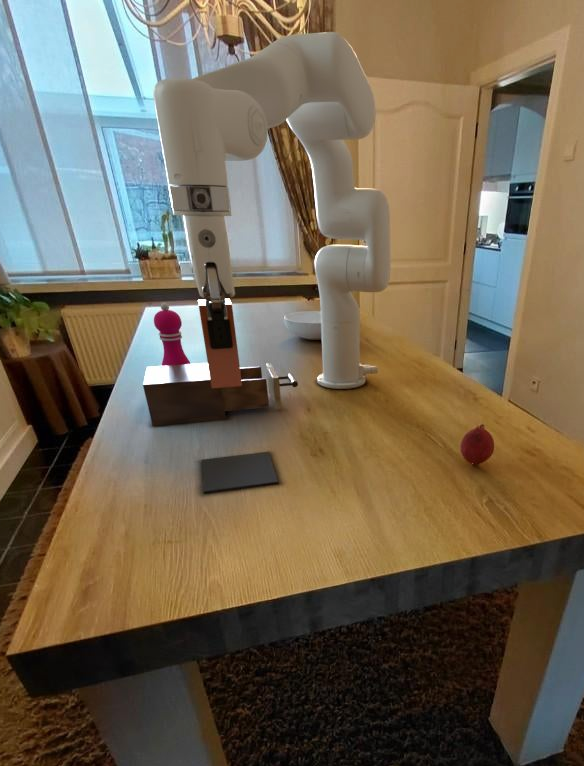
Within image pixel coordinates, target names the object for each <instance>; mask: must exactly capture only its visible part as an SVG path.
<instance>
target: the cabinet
mask: <svg viewBox="0 0 584 766" xmlns="http://www.w3.org/2000/svg"><path fill="white" fill-rule="evenodd" d="M142 388H143V393H144V395H145V400H146V403H147V409H148V413H149V417H150V421H151V425H152V427H157V426H170V425H178V424H179V425H181V424H189V423H200V422H211V421H219V420H226V411H224V404H223V397H222V391H221V388H212V387H211V380H210V374H209V368H208V362H200V363H191V364H183V365H169V366H162V365H157V366H155V365H154V366H146V370H145V374H144V378H143V382H142Z"/></svg>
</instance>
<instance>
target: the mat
mask: <svg viewBox="0 0 584 766" xmlns="http://www.w3.org/2000/svg"><path fill="white" fill-rule="evenodd" d="M201 469H202V470H201V471H202V472H201V473H202V487H203V494H210V493H218V492H225V491H233V490H241V489H248V488H255V487H263V486H270V485H277V484H278V485H279V480H278V476H277V474H276V470H275V467H274V464H273V462H272V458H271V454H270V452H269V451H264V452H255V453H254V452H253V453H247V454H245V453H244V454H238V455H230V456H229V455H228V456H219V457H211V458H203V459H201Z"/></svg>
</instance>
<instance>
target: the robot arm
mask: <svg viewBox="0 0 584 766" xmlns="http://www.w3.org/2000/svg"><path fill="white" fill-rule="evenodd" d="M153 101H154V109H155V114H156V119H157V126H158V131H159V138H160V143H161V150H162V156H163V161H164V162H163V163H164V168H165V173H166V178H167V185H168V191H169V197H170V202H171V208H172V215H173V216H176V217H177V216H179V217H183V218H182V219H183V223H184V230H185V236H186V242H187V247H188V253H189V258H190V264H191V268H192V272H193V276H194V280H195V284H196V288H197V290H198V294H199V296H200V297H201V298H203V299H204V300H205V302H206V308H207V315H208V320H207V327H208V333H209V340H210V346H211V348H212V349H226V348H232V347H233V342H232V335H231V327H230V319H228V315H227V308H226V301H225V299H226V296H225V293H226V294H227V295H229V296H230V298H233V297H235V295H236V289H235V284H234V276H233V269H232V262H231V252H230V246H229V245H230V244H229V237H228V231H227V228H226V222H225V217H231V216H232V208H231V198H230V191H229V184H228V183H229V182H228V174H227V173H228V172H227V165H226V162H244V161H250V160H253V159H255V158H257V157H258V156H260V155H261V153H262V152H263V151H264V150H265V147H266V145H267V142H268V132H269V131H268V130H269V129H272V128H276V127H278V126H280V125H282V124H283V123H284V122H287V124H288V126H289V128H290V130H291V131H292V132H293V134H294V135H295V137H296V138H297V139H298V140H299V142H300V143H301V145H302V146H303V148H304V150H305V152H306V154H307V156H308V159H309V162H310V165H311V173H312V181H313V191H314V202H315V203H314V204H315V213H316V214H315V215H316V220H317V227H318V229H319V232H320V233H321V234H322V236H323V237H325V238H328V239H334V240H350V241H351V240H353V241H358V240H359V241H364V242H365V244H366V245H355V244H329V245H326V246H323V247H321V248H320V249H319V250H318V251H317V253H316V255H315V258H314V272H315V277H316V282H317V287H318V288H317V289H318V292H319V293H318V294H319V304H320V305H319V306H320V311H321V333H322V340H321V357H322V373H320V374H319V375H318V376H317V378H316V380H317V381H316V382H317V384H318V385H320V386H321V387H324V388H328V389H334V390H348V389H349V390H350V389H354V388H359V387H362V386H363V385H365V383H366V381H367V379H366V378H367V377H366V376H367V375H369V374H370V375H375V374H378V372H379V369H378V365H373V366H372V365H370V364H364V365H363V364H362V363H361V362H360V361H361V359H360V357H361V355H360V354H361V352H360V351H361V336H360V335H361V312H360V307H359V304H358V302H357V300H356V298H355V296H354V295H353V294H352V292H357V293H358V292H360V293H380V292H383V291H384V290H386V289H387V288H388V285H389V283H390V277H391V213H390V206H389V202H388V199H387V197H386V195H385V193H384V192H383V191H382V190H380V189H377V188H372V187H371V188H369V187H365V188H363V187H356V185H355V179H354V162H353V157H352V154H351V152H350V150H349V147H348V145H347V144H346V142H345V141H346V140H347V141H351V140H352V141H355V140H363V139H365V138H366V137H368V136H369V135H370V134H371V132H372V130H373V128H374V125H375V121H376V102H375V96H374V93H373V89H372V87H371V85H370V82H369V80H368V77H367V75H366V74H365V71H364V69H363V67H362V66H361V62H360V61H359V59H358V56H357V54H356V52H355V51H354V49H353V47H352V46H351V45H350V43H349V42H348V41H347V39H346V38H345V37H344V36H342V35H341V34H340V33H338V32H335V31H325V32H323V31H322V32H309V33H296V34H295V33H294V34H289V35H288V34H287V35H284V36H282V37H280V38H278V39H276V40H275V41H273V42H271V43H270V44H269V45H267V46H266V47H264V48H262V49H261V50H259V51H258V52H256V53H255V54H253V55H251V56H250V57H248V58H245V59H242V60H239V61H236V62H233V63H231V64H228V65H226V66H224V67H221V68H218V69H216V70H212V71H209V72H206V73H204V74H201V75H198V76H195V77H193V78H191V79H190V78H178V77H177V78H175V77H172V78H164V79H161V80H159V81H157V83H156V84H155V85H154V89H153ZM221 301H222V302H221ZM209 302H210V303H209Z"/></svg>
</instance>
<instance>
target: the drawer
mask: <svg viewBox="0 0 584 766" xmlns="http://www.w3.org/2000/svg"><path fill="white" fill-rule="evenodd" d="M265 366H266V375H267V377H263V372H262V367H261V365H258V366H256V365H255V366H243V367H240V373H241V381H242V386H236V387H223V388H221V391H222V397H223V404H224V411H225V412H231V411H238V410H239V411H240V410H241V411H242V410H249V409H261V408H270V404H269V396H270V398H271V400H272V403H273V405H274V407H275V410H282V398H281V397H282V396H281V387H290V386H292V387H293V388H297V387H298V386H299V383H298V380H297V378H296V377H295V376H294V374H293V373H288V374H287V375H280V376H279V375H278V373H277V371H276V370H275V368H274V366H273V364H272V363H271V362H270V363H266V365H265ZM280 380H288V382H280Z"/></svg>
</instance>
